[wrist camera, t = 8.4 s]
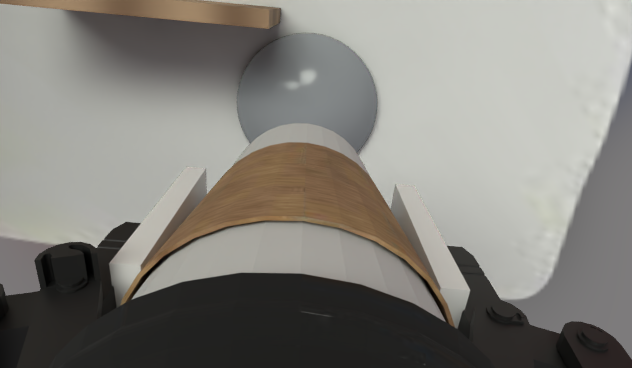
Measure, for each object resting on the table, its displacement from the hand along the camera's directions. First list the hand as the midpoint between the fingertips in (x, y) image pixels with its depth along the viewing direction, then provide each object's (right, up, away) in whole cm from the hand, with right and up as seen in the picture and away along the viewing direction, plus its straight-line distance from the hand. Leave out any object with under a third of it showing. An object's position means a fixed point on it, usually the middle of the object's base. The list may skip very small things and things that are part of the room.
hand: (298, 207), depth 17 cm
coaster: (0, +7, +16) cm, 18 cm away
